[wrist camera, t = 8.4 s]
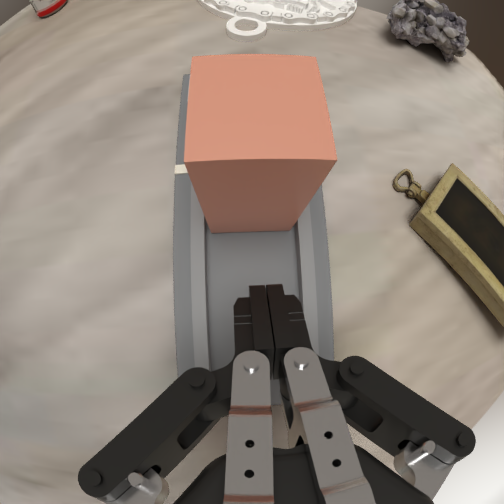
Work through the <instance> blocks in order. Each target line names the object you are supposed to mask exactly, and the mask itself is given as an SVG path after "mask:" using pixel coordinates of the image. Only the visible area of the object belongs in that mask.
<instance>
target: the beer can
mask: <svg viewBox="0 0 504 504" xmlns="http://www.w3.org/2000/svg"><path fill="white" fill-rule="evenodd" d="M29 1H30V3H31V5H32V6H33V8H34V10H35V12H36V13H37V15H38V16H39V17H47V16H50V15H52V14H54V13H55V12H57V11H58V10H60V9H61V8H62V7H63V6H64V5H65V3H66V1H67V0H29Z"/></svg>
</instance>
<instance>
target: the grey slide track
mask: <svg viewBox="0 0 504 504" xmlns="http://www.w3.org/2000/svg"><path fill="white" fill-rule="evenodd" d="M189 83H190V74H186V75H183V83H182V93H181V102H180V113H179V124H178V137H177V152H176V165H175V190H174V226H173V281H174V316H175V338H176V355H177V369H178V378H179V377H180V376H181V375H182V374H183V373H184V372H185V371H186V370H188V369H191V368H194V367H202V368H205V369H208V370H209V371H214V370H217V369H221V368H223V367H225V366H227V365H228V364H229V363H230V362H231V361H232V359H233V357H234V354H235V342H234V310H233V306H234V304H235V302H236V300H237V298H240V297H249V286H250V285H265V288H266V285H269V284H282V285H283V289H284V294H285V295H295V296H296V297H297V298H298V300H299V301H300V302H301V305H302V309H303V313H304V317H305V321H306V325H307V329H308V333H309V337H310V341H311V346H312V348H313V350H314V352H315V353H316V354H317V355H318V356H320V357H322V358H324V359H326V360H331V361H334V340H333V313H332V294H331V277H330V264H329V251H328V239H327V229H326V219H325V209H324V200H323V192H322V184H321V185H320V187H319V188H318V190H317V191H316V193H315V194H314V196H313V197H312V199H311V200H310V202H309V203H308V205H307V206H306V208H305V209H304V211H303V212H302V214H301V215H300V217H299V218H298V220H297V221H296V223H295V224H294V226H293V227H292V229H291V230H290V231H258V232H229V233H211V231H210V229H209V226H208V224H207V221H206V219H205V216H204V213H203V211H202V208H201V206H200V203H199V201H198V198H197V195H196V193H195V190H194V187H193V185H192V182H191V180H190V177H189V174H188V172H187V169H186V166H185V164H184V151H185V134H186V119H187V106H188V94H189ZM279 391H280V384H279V379H276V380H273V375H272V380H270V397H271V405H280V404H281V400H280V396H279Z"/></svg>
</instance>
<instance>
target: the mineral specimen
mask: <svg viewBox="0 0 504 504" xmlns="http://www.w3.org/2000/svg"><path fill="white" fill-rule="evenodd" d="M387 19H389V20H388V22H389V24H390V26H391V32H392V33H393V34H395V37H396V38H397V39H400V38H401V39H403V40H404V39H407V40H408V41H409V42H410V43H411V44H412V45H414V46H415V47H416V46H419V44H420V43H427V44H430V43H433V44H434V45H435V46H436V47H437V48H439V49H440V51H441V52H442V54H443V56H444V60H445V61H446V62H450V61H452V60H453V56H454V55H455V56H457V57H462V56H464V55H466V52H465V49H466V46H467V45H468V43H469V40H468V38H467V37H466V36H465V35H466V30H465V26H466V20H464V19H463V18H462V17H460V16H459V17H457V16H456V14H455V13H454V12H449V9H448V6H446V5H445V4H443V3H442V4H439V2H438V1H436V0H400V1H399V2H398V3H397V4H396V5H393V7H392V10H391V12H390V13H389V14H388V16H387Z"/></svg>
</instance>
